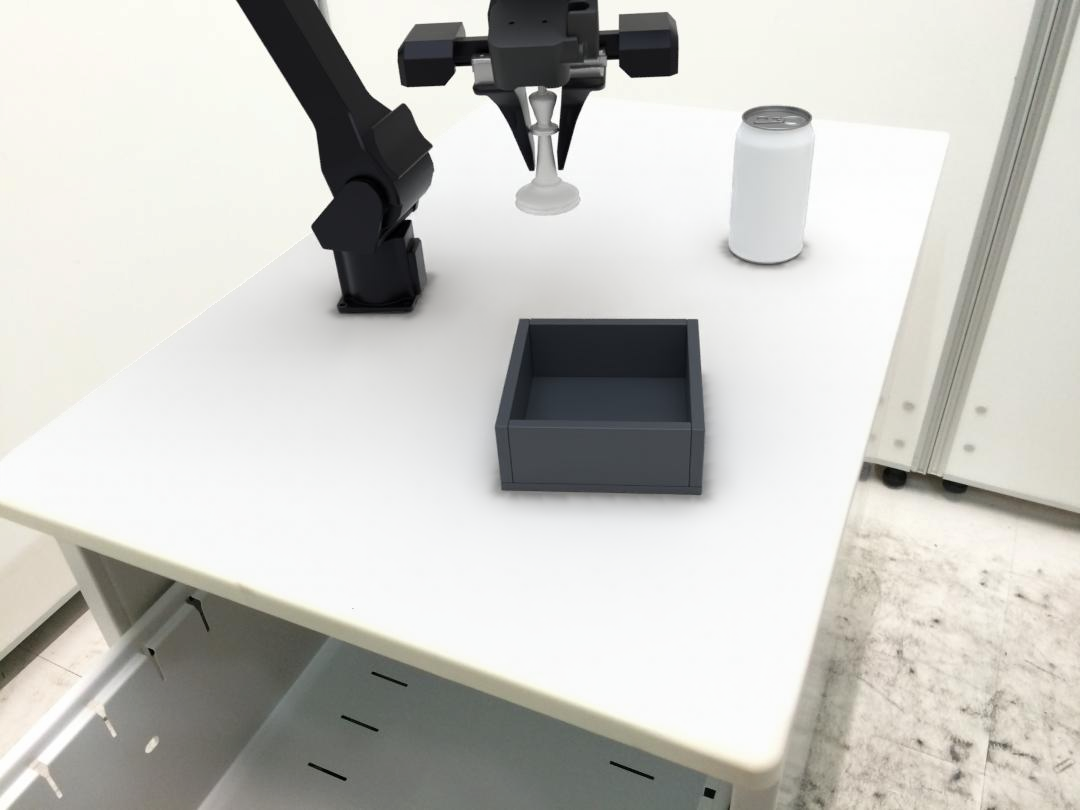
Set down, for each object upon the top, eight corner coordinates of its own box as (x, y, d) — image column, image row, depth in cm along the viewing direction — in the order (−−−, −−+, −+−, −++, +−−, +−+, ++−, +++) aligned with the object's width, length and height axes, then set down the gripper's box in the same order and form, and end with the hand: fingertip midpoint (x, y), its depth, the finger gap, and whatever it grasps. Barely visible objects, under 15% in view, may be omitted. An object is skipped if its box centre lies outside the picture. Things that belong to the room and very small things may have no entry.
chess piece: (541, 183, 74) (535, 53, 68) (593, 197, 71) (590, 62, 65) (501, 206, 71) (491, 71, 65) (554, 221, 68) (548, 82, 62)
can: (802, 267, 81) (819, 131, 74) (726, 264, 82) (734, 130, 75) (801, 233, 86) (816, 103, 79) (729, 231, 87) (737, 102, 80)
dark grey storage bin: (501, 490, 60) (494, 426, 57) (524, 376, 70) (519, 318, 67) (701, 494, 58) (705, 430, 55) (695, 378, 68) (698, 318, 65)
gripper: (361, -27, 55) (401, 220, 64) (686, -45, 53) (679, 212, 62) (398, -65, 63) (429, 157, 73) (677, -81, 62) (672, 148, 71)
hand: (546, 168), depth 69 cm, fingers closed on chess piece
